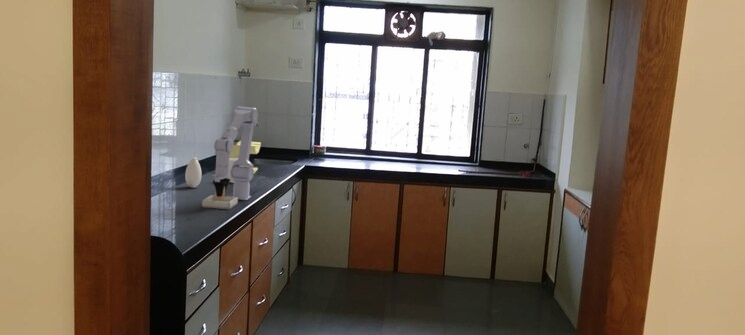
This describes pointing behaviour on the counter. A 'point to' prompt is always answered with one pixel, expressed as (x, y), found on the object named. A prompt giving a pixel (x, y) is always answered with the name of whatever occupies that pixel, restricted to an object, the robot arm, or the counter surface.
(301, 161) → the counter surface
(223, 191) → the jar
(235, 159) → the foam cup
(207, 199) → the tray
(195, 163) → the white tall oval piece
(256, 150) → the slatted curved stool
